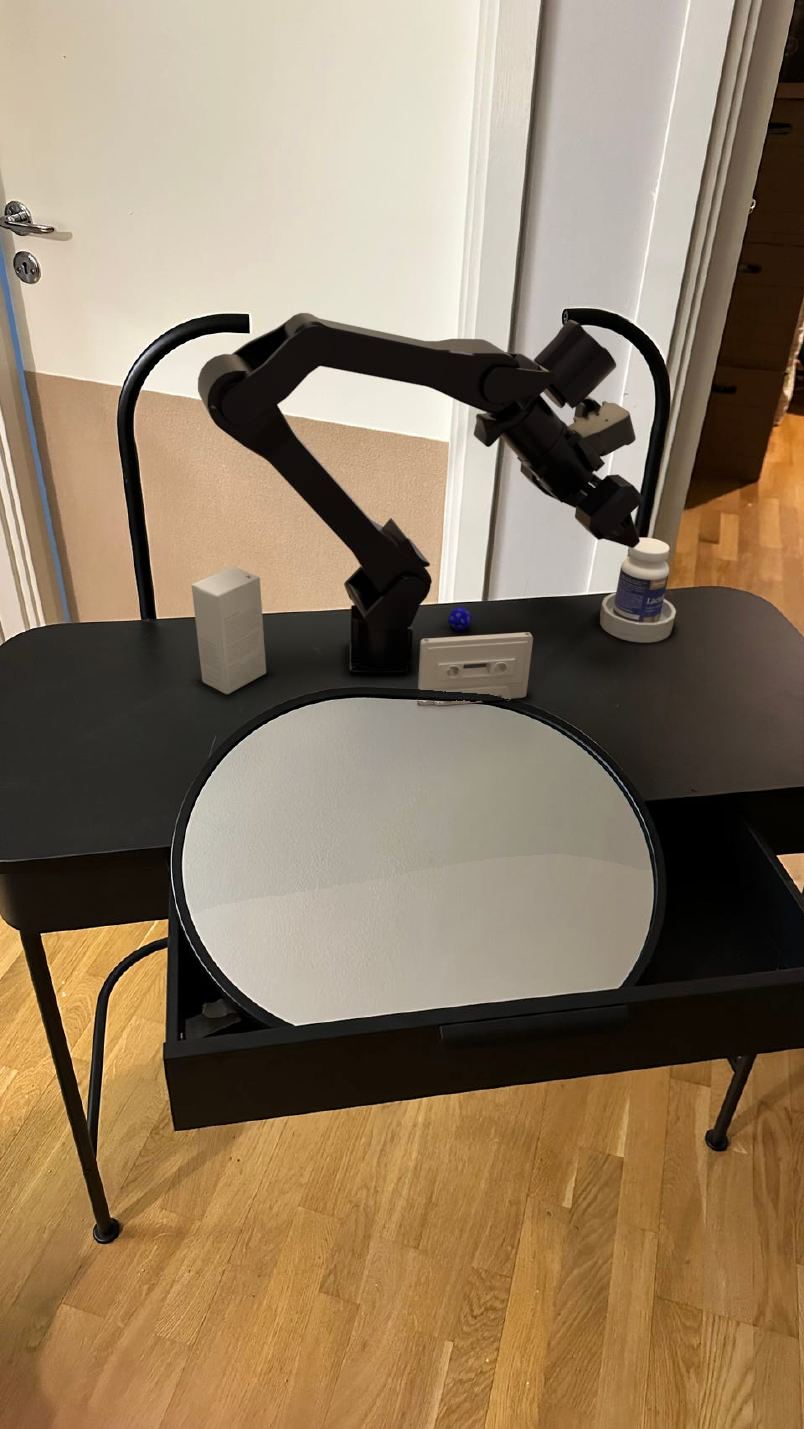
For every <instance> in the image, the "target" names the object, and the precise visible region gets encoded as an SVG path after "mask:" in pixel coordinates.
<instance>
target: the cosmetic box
mask: <svg viewBox="0 0 804 1429" xmlns="http://www.w3.org/2000/svg"><path fill="white" fill-rule="evenodd" d="M191 592H192V603H193V611H194V619H195V620H194V621H195V627H196V639H197V645H198V654H199V662H200V664H199V665H200V672H201V681H202V683H204V685H205V684H206V685H207V686H209V687H210V688H211V687H212V688H213V689H215V690H217V691H219V692H221V693H223V694H224V695H230V694H231V693H233V692H235V691H237V690H238V689H241V688H243V687H244V686H245V685H248V684H250V683H251V682H253V681H255V680H257V679H259V678H260V677H262V676H264V675H266V674H267V665H266V664H267V661H266V648H265V634H264V620H263V619H264V618H263V604H262V603H263V602H262V590H261V578H260V577H259V576H257V575H255V574H253V573H250V572H248V571H246V570H244V569H241V568H239V567H236V566H230V567H228V568H226V569H224V570H222V571H219V572H216V573H215V574H212V575H210V576H208V577H206V578H203V579H201V580H199V581H196V582H194V583H192V584H191Z"/></svg>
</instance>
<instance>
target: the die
mask: <svg viewBox="0 0 804 1429" xmlns="http://www.w3.org/2000/svg"><path fill="white" fill-rule="evenodd" d="M472 618H473V616H472V614H471V613H470V612H469V611H468V610H467V609H466V608H465V607H464V606H461V607H458V608H455V609H452V611H451V612H450V614H449V617H448V619H447V623H448V624H449V625H450V626H451V627H452V629H454V630H455V632H457V631H461V630H465V629H467V628H468V626H469V624H470V623H471V620H472Z"/></svg>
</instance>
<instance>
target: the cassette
mask: <svg viewBox="0 0 804 1429" xmlns="http://www.w3.org/2000/svg"><path fill="white" fill-rule="evenodd" d="M533 643H534V638H533V635H532V634H531V632H529V631H528V632H512V633H497V634H496V633H495V634H493V633H492V634H477V635H462V636H448V637H447V636H446V637H432V638H429V637H428V638H422V639H421V640H420V644H419V645H420V647H419V661H418V662H419V665H418V683H417V684H418V686H417V690H418V689H420V690H434V691H443V692H444V691H446V692H462V693H477V694H490V695H494V696H498V697H501V698H504V699H509V700H508V701H511V699H522V698H523V699H524V698H525V697H526V696H527V694H528V693H527V692H528V683H529V677H530V676H529V675H530V668H531V661H532V660H531V659H532V652H533ZM480 664H485V667H471V668H470V667H469V668H468V667H467V668H464V667H465V666H464V665H480ZM417 702H418V703H419V705H420V706H429V705H435V706H438V705H439V706H451V705H464V704H465V705H466V704H477V703H483V702H482V701H476V702H470V701H465V700H463V701H457V700H456V701H451V702H445V701H443V703H441V702H439V703H437V702H435V701H426V702H423V701H418V700H417Z"/></svg>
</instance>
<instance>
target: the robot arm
mask: <svg viewBox="0 0 804 1429" xmlns="http://www.w3.org/2000/svg"><path fill="white" fill-rule="evenodd" d="M319 367H322V368H329V369H333V370H340V371H344V372H349V373H353V374H359V375H365V376H370V377H375V378H380V379H386V380H391V381H395V382H400V383H404V384H405V383H407V384H412V385H416V386H421V387H425V388H430V389H432V390H435V391H437V392H439V393H441V394H443V395H445V396H447V397H450V398H451V399H454V400H455V401H458V402H460V403H462V404H465V405H468V406H470V407H472V408H474V409H477V410H480V411H482V412H484V413H476V415H475V420H476V422H475V425H474V430H473V437H475V438H476V440H478V441H479V442H480V443H482V444H483V446H484V447H487V448H490V447H492V446H493V444H495V443H496V441H498V439H499V438H501V439H502V440H503V441H504V442H505V444H506V445H507V446H508V447H509V448H510V449H511V451H512V452H514V454H515V455H516V456H517V457H516V459H517V460H518V461H519V462H520V473H521V474H522V475H523V476H524V478H526V479H527V480H528V481H529V482H530V483H531V484H532V485H533V486H535V487H536V489H538V490H539V491H540V492H542V493H543V494H544V495H545V496H548V497H550V498H552V499H554V500H556V501H559V502H560V503H561V504H562V503H564V504H566V505H568V506H569V507H571V508H574V509H575V512H574V519H575V520H577V522H578V523H579V524H580V525H581V526H582V527H583V528H584V530H586V531H587V532H588V533H589V534H591V535H592V536H593V537H594V538H595V539H596V540H597V541H601V540H606V541H609V542H612V543H616V544H618V545H622V546H625V547H628V548H629V547H631V548H634V547H635V546H636V545H637V544H638V543H639V542H640V539H639V538H640V537H639V533H638V531H637V528H636V525H635V523H634V522H635V521H634V519H633V515H632V513H633V512H634V511H635V510H636V509H637V508H638V507H639V506H640V505H641V504H642V502H643V498H644V496H643V495H642V494H641V493H640V491H639V490H638V488H636V486H635V485H633V484H632V483H631V482H629V481H628V480H627V479H626V478H624V477H622V476H621V475H620V474H607V475H606V476H604V478H601V477H599V476H598V475H597V474H595V473H596V472H598V471H599V470H600V469H602V467H604V466H605V464H606V462H605V461H604V460H603V458H602V457H605V456H608V455H610V454H612V453H613V452H615V451H617V450H619V449H621V448H623V447H624V446H629V445H631V444H633V443H634V442H635V441H636V439H637V438H636V437H637V436H636V432H635V429H634V426H633V422H632V417H631V414H630V411H629V410H627V409H626V408H623V406H620V405H619V404H617V403H615V402H608V401H606V400H604V401H602V402H601V404H602V405H601V404H600V403H598V401H597V400H596V399H594V398H592V397H591V396H589V395H590V394H592V393H593V392H594V391H595V390H596V388H598V387H599V386H600V384H601V383H602V382H603V381H604V380H605V379H606V378H607V377H608V376H609V375H611V373H613V371H614V370H615V369H616V368H617V362H616V361H615V358H614V357H613V356H612V354H611V352H610V351H609V350H608V349H607V348H606V347H605V346H602V345H601V344H600V343H599V341H597V340H596V339H595V337H593V336H592V335H591V334H590V333H588V332H587V331H586V330H585V328H584V327H583V326H582V324H580V323H579V322H577V321H575V320H573V319H569V320H567V321H566V323H565V324H564V325H563V326H562V327H561V328H560V329H559V331H558V333H557V334H556V335H555V337H553V339H551V341H550V342H549V343H548V344H547V345H546V346H544V348H543V349H542V350H541V351H540V352H539V353H538V354H537V355H536V356H535V358H534V359H531V358H530V357H528V356H527V355H525V354H523V353H518V352H508V351H505V350H503V349H502V348H500V347H498V346H497V345H495V344H493V343H492V342H490V341H488V340H486V339H481V338H448V339H447V338H446V339H442V340H424V339H423V340H422V339H418V338H414V337H408V336H404V335H400V334H399V335H398V334H395V333H389V332H385V331H380V330H375V329H371V328H366V327H361V326H357V325H352V324H348V323H344V322H338V321H333V320H329V319H323V318H320V317H318V316H315V315H314V314H312V313H310V312H300V313H299V312H298V313H296V314H293V315H292V316H291V317H290V318H288V320H286V321H284V322H283V323H282V324H281V325H279V326H278V327H276V328H274V329H272V330H270V331H268V332H266V333H264V334H262V335H260V336H258V337H255V338H254V339H251V340H250V341H249V340H248V342H246V343H245V344H243V345H242V346H240V347H239V348H237V349H236V350H235V351H233V352H232V353H231V354H230V353H229V354H228V353H223V354H220V355H215V356H213V357H212V358H211V359H209V360H207V361H206V362H205V363H204V365H203V366H202V367H201V369H200V372H199V375H198V378H197V392H198V394H199V397H200V399H201V401H202V403H203V405H204V407H205V409H206V411H207V413H208V414H209V417H210V419H211V420H212V421H213V423H214V424H215V425H216V427H218V428H219V429H220V430H221V431H223V432H224V433H225V434H227V435H228V436H229V437H231V438H232V439H234V440H235V441H236V442H237V443H239V444H240V445H242V446H243V447H244V448H246V449H248V450H249V451H251V452H252V453H254V454H255V455H257V456H259V457H261V458H263V459H264V460H265V461H267V462H268V463H269V464H270V465H271V466H272V467H273V468H274V469H275V470H276V471H277V472H278V474H279V475H280V476H281V477H282V478H283V479H284V480H285V482H287V483H288V485H290V487H291V488H292V489H293V490H294V491H295V492H296V493H297V494H298V495H299V496H300V498H301V499H303V501H304V502H305V503H306V504H307V505H308V506H309V507H310V508H311V509H312V510H313V512H314V513H315V514H316V515H317V516H318V517H319V518H320V519H321V520H322V521H323V523H325V525H326V526H328V528H329V529H330V530H331V531H332V532H333V533H334V534H335V535H336V536H337V537H338V538H339V540H341V541H342V543H344V545H345V546H346V547H347V548H348V549H349V550H350V551H351V553H352V554H353V557H354V558H355V559H356V561H357V563H358V564H359V567H358V568H357V569H356V570H355V571H354V572H353V573H352V574H351V575H350V577H348V579H346V580H345V581H344V583H343V586H344V588H345V591H346V593H347V596H348V598H349V600H351V602H352V603H353V604H352V605H351V606H350V643H349V673H350V674H352V675H407V674H408V672H409V667H408V666H409V664H408V663H410V662H412V657H413V637H414V636H413V634H414V630H413V623H414V621H415V617H416V615H417V613H418V610H419V607H420V606H421V604H422V603H423V602H424V601H425V600H426V599H427V597H428V595H429V593H430V591H431V585H432V583H433V580H432V576H431V574H430V573H429V570H428V569H427V568H428V567H430V566H431V563H430V562H429V561H428V559H427V558H426V556H424V554H423V553H422V552H421V550H419V548H418V547H417V545H416V544H415V542H413V540H412V539H411V538H409V537H407V535H406V533H405V532H403V530H402V529H401V528H400V527H399V526H398V524H397V523H396V522H395V521H394V519H393V518H392V517H390V518H389V519H388V520H387V521H386V523H385V524H384V525H381V524H379V523H377V522H376V521H374V520H372V519H371V518H370V517H369V515H367V513H366V512H365V511H364V510H363V509H362V507H361V506H360V505H358V503H357V502H356V501H355V500H354V499H353V497H352V496H351V495H350V494H349V493H348V492H347V491H346V490H345V488H343V486H342V485H341V484H340V483H339V482H338V481H337V479H336V478H335V477H334V476H333V475H332V474H331V473H330V472H329V471H328V469H327V468H326V467H325V466H324V465H323V464H322V462H321V461H320V460H319V459H318V458H317V457H316V455H315V454H314V453H313V452H312V451H311V449H309V448H308V447H307V445H306V444H305V443H304V442H303V441H302V440H301V439H300V438H299V436H298V435H297V434H296V432H294V431H293V429H292V427H291V426H290V424H289V423H288V420H287V419H286V417H285V415H284V413H283V412H282V410H281V408H280V407H279V404H281V403H282V402H283V401H285V400H286V399H287V398H288V397H289V396H290V395H291V394H292V393H293V392H295V390H296V389H297V388H298V387H299V385H300V384H302V382H303V381H304V380H305V379H306V378H307V377H308V376H309V375H310V374H311V373H312V372H314V371H315V370H316V369H318V368H319ZM542 393H544V395H545V396H546V397H547V398H548V399H549V400H550V401H551V402H552V403H553V404H554V405H555V406H556V407H558V408H559V409H563V408H564V407H565V406H566V404H567V406H568V407H569V408H571V409H572V410H573V409H574V414H573V417H572V420H573V422H572V423H571V424H569V425H567V423H566V422H565V421H563V420H562V419H561V418H560V417H559V416H558V415H557V414H556V412H555V411H554V410H553V409H552V407H551V406H550V405H549V404H548V402H547V401H546V400H545V399H544V398H543V396H542V395H541V394H542ZM594 472H595V473H594Z"/></svg>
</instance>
